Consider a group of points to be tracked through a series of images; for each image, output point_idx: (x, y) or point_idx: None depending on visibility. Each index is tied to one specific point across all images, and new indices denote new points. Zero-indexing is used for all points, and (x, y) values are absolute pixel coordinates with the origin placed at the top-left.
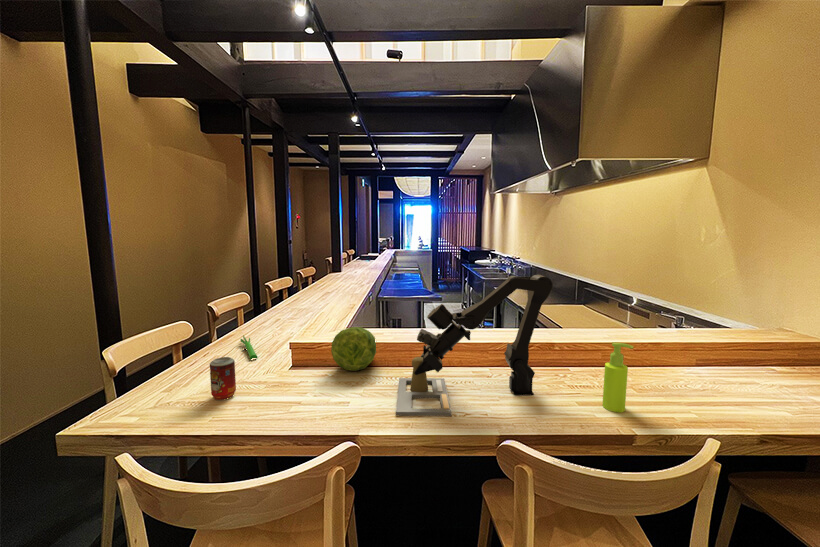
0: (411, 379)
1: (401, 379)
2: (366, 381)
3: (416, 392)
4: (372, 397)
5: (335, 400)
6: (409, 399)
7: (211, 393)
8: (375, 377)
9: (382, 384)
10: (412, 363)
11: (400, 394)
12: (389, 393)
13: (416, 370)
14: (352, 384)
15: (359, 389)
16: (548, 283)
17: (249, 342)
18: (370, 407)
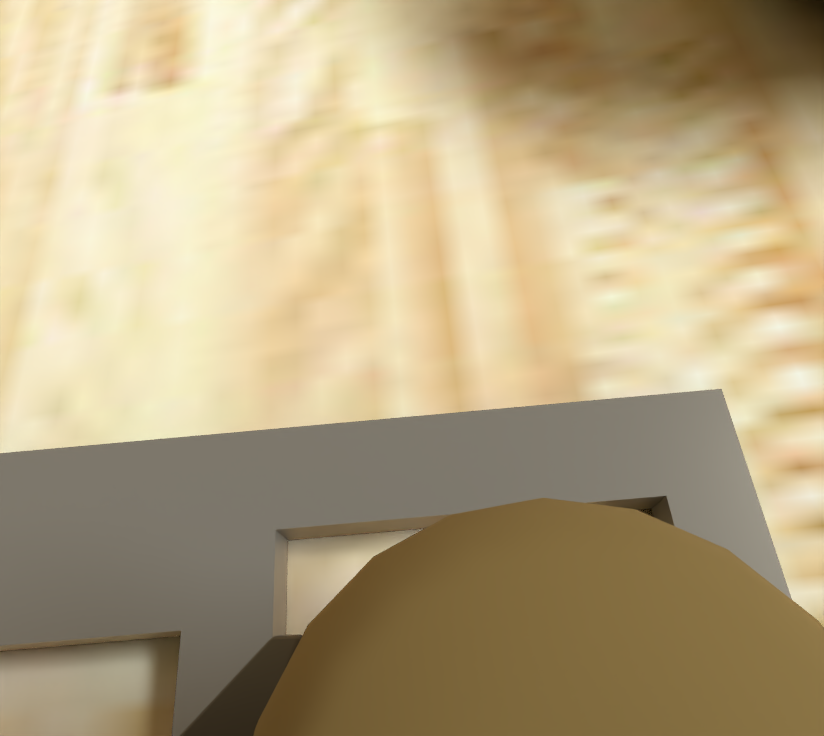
0: None
1: (683, 424)
2: (601, 103)
3: None
4: (248, 216)
5: (208, 7)
6: (36, 610)
7: None
8: (729, 152)
9: (563, 244)
10: (397, 544)
11: (198, 470)
12: (340, 348)
13: (214, 715)
14: (509, 28)
15: (413, 93)
16: None
17: None
18: (49, 239)
